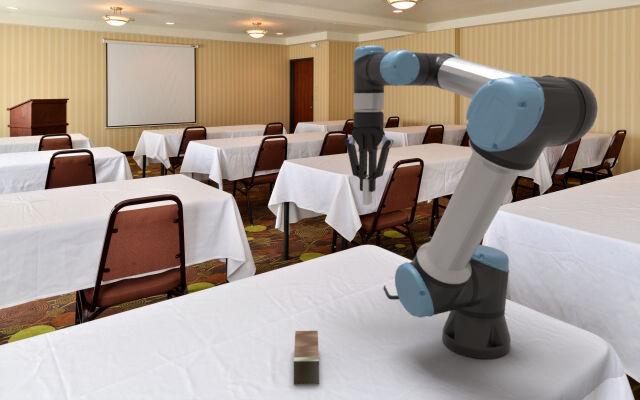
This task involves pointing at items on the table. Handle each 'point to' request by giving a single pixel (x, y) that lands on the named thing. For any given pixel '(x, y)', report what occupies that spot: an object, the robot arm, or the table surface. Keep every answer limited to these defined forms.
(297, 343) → the walnut block
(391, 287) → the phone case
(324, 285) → the table surface
